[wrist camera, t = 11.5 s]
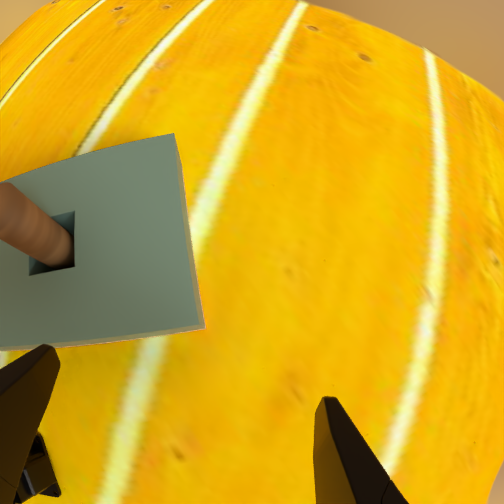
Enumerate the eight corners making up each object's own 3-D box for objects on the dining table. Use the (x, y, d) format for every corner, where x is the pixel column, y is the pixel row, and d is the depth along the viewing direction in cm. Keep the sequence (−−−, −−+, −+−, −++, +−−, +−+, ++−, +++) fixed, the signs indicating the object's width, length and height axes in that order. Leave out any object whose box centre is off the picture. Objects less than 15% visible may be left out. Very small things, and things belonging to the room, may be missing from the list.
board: (2, 351, 20) (-33, 348, 16) (3, 212, 24) (-24, 192, 20) (206, 328, 23) (199, 324, 18) (182, 167, 27) (174, 133, 22)
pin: (62, 280, 22) (-22, 237, 12) (62, 246, 23) (-15, 189, 13) (92, 275, 23) (13, 225, 12) (91, 240, 24) (20, 176, 13)
